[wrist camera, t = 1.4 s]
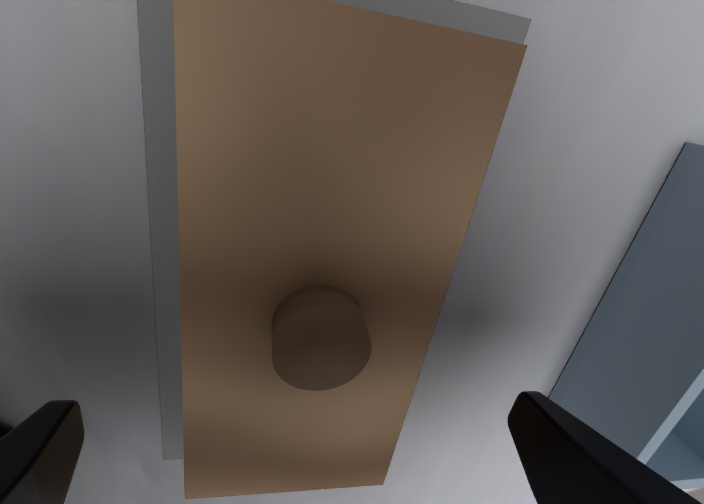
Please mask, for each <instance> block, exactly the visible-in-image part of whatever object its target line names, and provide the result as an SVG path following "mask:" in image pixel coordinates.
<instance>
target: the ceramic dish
mask: <svg viewBox="0 0 704 504" xmlns="http://www.w3.org/2000/svg"><path fill="white" fill-rule="evenodd" d="M549 399H550V400H552V401H553V402H555V403H556V404H558V405H559V406H561V407H562V408H563V409H565V410H566V411H568V412H569V413H571V414H572V415H574V416H575V417H577V418H578V419H579V420H581V421H582V422H584V423H585V424H587V425H588V426H590V427H591V428H593V429H594V430H595V431H597V432H598V433H600V434H601V435H603V436H604V437H606V438H607V439H609V440H610V441H611V442H613V443H614V444H616V445H617V446H619V447H620V448H622V449H623V450H625V451H626V452H627V453H629V454H630V455H632V456H633V457H635V458H636V459H638V460H639V461H641V462H642V463H643V464H645V465H646V466H648V467H649V468H651V469H652V470H654V471H655V472H657V473H658V474H659V475H661V476H662V477H664V478H665V479H667V480H668V481H670V482H671V483H673V484H674V485H675V486H677V487H678V488H680V489H690V488H701V487H704V145H699V144H693V143H688V142H686V144H685V146H684V148H683V150H682V152H681V154H680V155H679V157H678V159H677V161H676V163H675V165H674V167H673V168H672V170H671V172H670V174H669V176H668V178H667V180H666V181H665V183H664V185H663V187H662V189H661V191H660V193H659V194H658V196H657V198H656V200H655V202H654V204H653V206H652V207H651V209H650V211H649V213H648V215H647V217H646V218H645V220H644V222H643V224H642V226H641V228H640V230H639V231H638V233H637V235H636V237H635V239H634V241H633V243H632V244H631V246H630V248H629V250H628V252H627V254H626V256H625V257H624V259H623V261H622V263H621V265H620V267H619V269H618V270H617V272H616V274H615V276H614V278H613V280H612V282H611V283H610V285H609V287H608V289H607V291H606V293H605V294H604V296H603V298H602V300H601V302H600V304H599V306H598V307H597V309H596V311H595V313H594V315H593V317H592V319H591V320H590V322H589V324H588V326H587V328H586V330H585V332H584V333H583V335H582V337H581V339H580V341H579V343H578V345H577V346H576V348H575V350H574V352H573V354H572V356H571V358H570V359H569V361H568V363H567V365H566V367H565V369H564V370H563V372H562V374H561V376H560V378H559V380H558V382H557V383H556V385H555V387H554V389H553V391H552V393H551V395H550V396H549Z"/></svg>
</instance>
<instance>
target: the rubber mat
mask: <svg viewBox="0 0 704 504" xmlns="http://www.w3.org/2000/svg"><path fill="white" fill-rule="evenodd" d="M327 1H332V2H336V3H341V4H345V5H350V6H354V7H358V8H363V9H367V10H372V11H376V12H381V13H385V14H390V15H394V16H399V17H403V18H408V19H412V20H416V21H421V22H425V23H430V24H434V25H439V26H443V27H448V28H452V29H457V30H461V31H465V32H470V33H474V34H479V35H483V36H488V37H492V38H497V39H501V40H506V41H510V42H515V43H519V44H524V40H525V37H526V34H527V31H528V28H529V25H530V22H531V19H528V18H524V17H520V16H516V15H511V14H507V13H503V12H499V11H495V10H491V9H487V8H483V7H479V6H474V5H470V4H466V3H462V2H458V1H454V0H327ZM137 10H138V27H139V45H140V62H141V79H142V97H143V114H144V131H145V149H146V166H147V183H148V201H149V218H150V235H151V253H152V270H153V287H154V304H155V322H156V339H157V356H158V374H159V391H160V408H161V426H162V443H163V460H166V459H184V443H183V400H182V356H181V313H180V270H179V227H178V183H177V140H176V97H175V54H174V10H173V0H137Z"/></svg>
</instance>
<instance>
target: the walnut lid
mask: <svg viewBox="0 0 704 504" xmlns="http://www.w3.org/2000/svg"><path fill="white" fill-rule="evenodd" d="M173 10H174V54H175V97H176V140H177V183H178V227H179V270H180V313H181V356H182V400H183V443H184V486H185V499H195V498H208V497H222V496H235V495H249V494H262V493H276V492H290V491H303V490H317V489H330V488H344V487H357V486H371V485H383V483H384V480H385V477H386V474H387V471H388V468H389V465H390V462H391V459H392V456H393V453H394V450H395V447H396V444H397V441H398V438H399V434H400V431H401V428H402V425H403V422H404V419H405V416H406V413H407V410H408V407H409V404H410V401H411V398H412V395H413V392H414V389H415V386H416V383H417V380H418V377H419V374H420V371H421V368H422V365H423V361H424V358H425V355H426V352H427V349H428V346H429V343H430V340H431V337H432V334H433V331H434V328H435V325H436V322H437V319H438V316H439V313H440V310H441V307H442V304H443V301H444V298H445V295H446V292H447V288H448V285H449V282H450V279H451V276H452V273H453V270H454V267H455V264H456V261H457V258H458V255H459V252H460V249H461V246H462V243H463V240H464V237H465V234H466V231H467V228H468V225H469V222H470V219H471V215H472V212H473V209H474V206H475V203H476V200H477V197H478V194H479V191H480V188H481V185H482V182H483V179H484V176H485V173H486V170H487V167H488V164H489V161H490V158H491V155H492V152H493V149H494V146H495V142H496V139H497V136H498V133H499V130H500V127H501V124H502V121H503V118H504V115H505V112H506V109H507V106H508V103H509V100H510V97H511V94H512V91H513V88H514V85H515V82H516V79H517V76H518V73H519V69H520V66H521V63H522V60H523V57H524V54H525V51H526V48H527V45H523V44H519V43H515V42H510V41H506V40H501V39H497V38H492V37H488V36H483V35H479V34H474V33H470V32H465V31H461V30H457V29H452V28H448V27H443V26H439V25H434V24H430V23H425V22H421V21H416V20H412V19H408V18H403V17H399V16H394V15H390V14H385V13H381V12H376V11H372V10H367V9H363V8H358V7H354V6H350V5H345V4H341V3H336V2H332V1H327V0H173Z"/></svg>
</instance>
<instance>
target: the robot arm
mask: <svg viewBox="0 0 704 504" xmlns="http://www.w3.org/2000/svg"><path fill="white" fill-rule="evenodd" d="M508 427H509V430H510V432H511V435H512V438H513V441H514V443H515V446H516V449H517V452H518V454H519V457H520V460H521V463H522V465H523V468H524V471H525V473H526V476H527V479H528V482H529V484H530V487H531V489H532V492H533V495H534V497H535V499H536V501H537V504H701V503H700V502H699V501H697V500H696V499H694V498H693V497H691V496H690V495H688V494H687V493H686V492H684V491H683V490H681V489H680V488H678V487H677V486H675V485H674V484H673V483H671V482H670V481H668V480H667V479H665V478H664V477H662V476H661V475H659V474H658V473H657V472H655V471H654V470H652V469H651V468H649V467H648V466H646V465H645V464H643V463H642V462H641V461H639V460H638V459H636V458H635V457H633V456H632V455H630V454H629V453H627V452H626V451H625V450H623V449H622V448H620V447H619V446H617V445H616V444H614V443H613V442H611V441H610V440H609V439H607V438H606V437H604V436H603V435H601V434H600V433H598V432H597V431H595V430H594V429H593V428H591V427H590V426H588V425H587V424H585V423H584V422H582V421H581V420H579V419H578V418H577V417H575V416H574V415H572V414H571V413H569V412H568V411H566V410H565V409H563V408H562V407H561V406H559V405H558V404H556V403H555V402H553V401H552V400H550V399H549V398H547V397H546V396H545V395H543V394H542V393H540V392H537V391H524V392H521V393H520V394H519V395H518V396H517V398H516V400H515V402H514V405H513V407H512V409H511V411H510V413H509V415H508ZM83 440H84V427H83V422H82V416H81V411H80V406H79V403H78V402H77V401H75V400H54V401H50V402H48V403H46V404H45V405H43V406H42V407H41V408H40V409H38V410H37V411H36V412H34V413H33V414H32V415H31V416H29V417H28V418H27V419H25V420H24V421H23V422H22V423H20V424H19V425H18V426H16V427H15V428H14V429H13V430H11V431H10V432H8V431H5V430H3V429H0V504H64V501H65V498H66V495H67V492H68V489H69V486H70V482H71V479H72V476H73V473H74V470H75V467H76V464H77V461H78V458H79V454H80V451H81V448H82V445H83Z"/></svg>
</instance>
